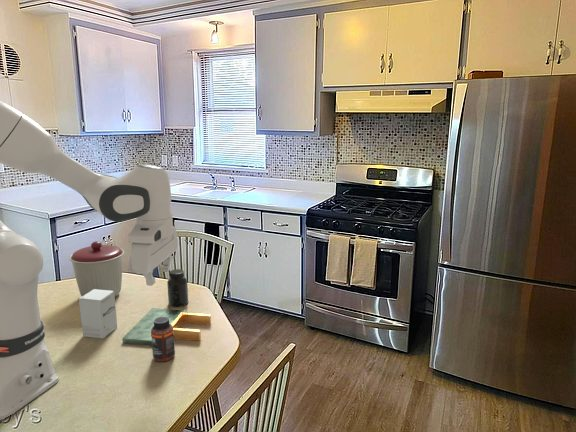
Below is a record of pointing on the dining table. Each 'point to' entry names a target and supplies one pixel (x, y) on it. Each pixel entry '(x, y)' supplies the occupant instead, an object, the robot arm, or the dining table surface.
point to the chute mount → (176, 319)
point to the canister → (98, 268)
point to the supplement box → (98, 313)
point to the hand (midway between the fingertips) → (158, 277)
